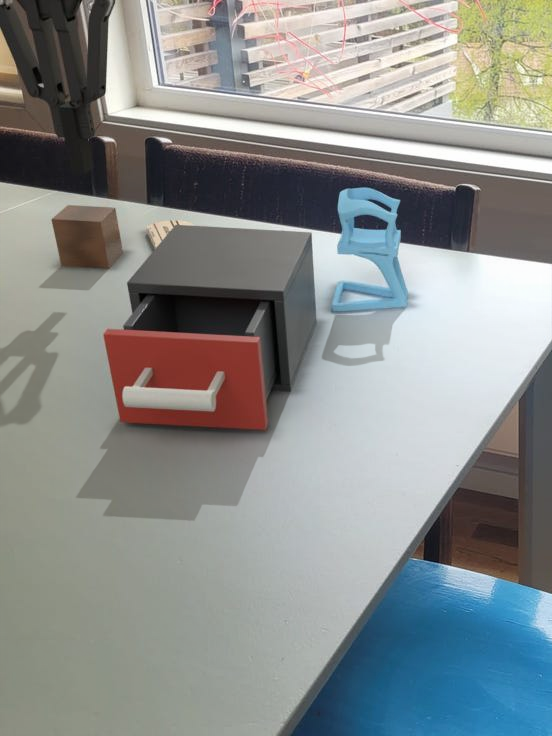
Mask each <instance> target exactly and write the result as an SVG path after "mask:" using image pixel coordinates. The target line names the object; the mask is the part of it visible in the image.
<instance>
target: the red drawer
mask: <svg viewBox="0 0 552 736" xmlns="http://www.w3.org/2000/svg"><path fill="white" fill-rule="evenodd" d="M274 301H275V300H257V299H239V298H221V297H203V296H185V295H166V294H147V295H146V297H145V298H144V299H143V301H142V302H141V303H140V305H139V306H138V307H137V308H136V310H135V311H134V312H133V314H132V313H131V315H130V316H129V317H128V319H127V320H126V321H125V322H124V324H123V325H122V327H123V329H117V328H107V329H106V330H105V331H104V332H103V341H104V347H105V350H106V356H107V361H108V366H109V371H110V376H111V381H112V386H113V392H114V397H115V401H116V407H117V412H118V417H119V422H120V423H126V424H127V423H130V424H147V425H148V424H149V425H165V426H185V427H186V426H187V427H203V428H204V427H205V428H223V429H243V430H262V431H263V430H264V431H265V430H267V427H268V426H269V417H268V405H267V400H268V399H269V396H270V393H271V391H272V390H271V389H272V386H273V384H274V381H275V379H276V377H277V374H278V372H279V369H280V366H279V354H278V342H277V329H276V317H275V305H274Z"/></svg>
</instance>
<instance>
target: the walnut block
mask: <svg viewBox="0 0 552 736" xmlns="http://www.w3.org/2000/svg"><path fill="white" fill-rule="evenodd" d="M50 220H51V224H52V228H53V234H54V238H55V243H56V248H57V253H58V256H59V262H60V266H61V267H66V268H67V267H69V268H84V269H85V268H87V269H105V270H110V269H111V267H113V266H114V264H115V263H116V262H117V261H118V260H119V259H120V257H122V255H123V254H124V250H123V244H122V239H121V232H120V227H119V221H118V215H117V209H116V207H109V206H93V205H78V204H77V205H75V204H74V205H73V204H67V205H66V206H65V207H64V208H63V209H61V210H60V211H59V212H58V213H57V214H56V215H54V216H53V217H52V218H51V219H50Z"/></svg>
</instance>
